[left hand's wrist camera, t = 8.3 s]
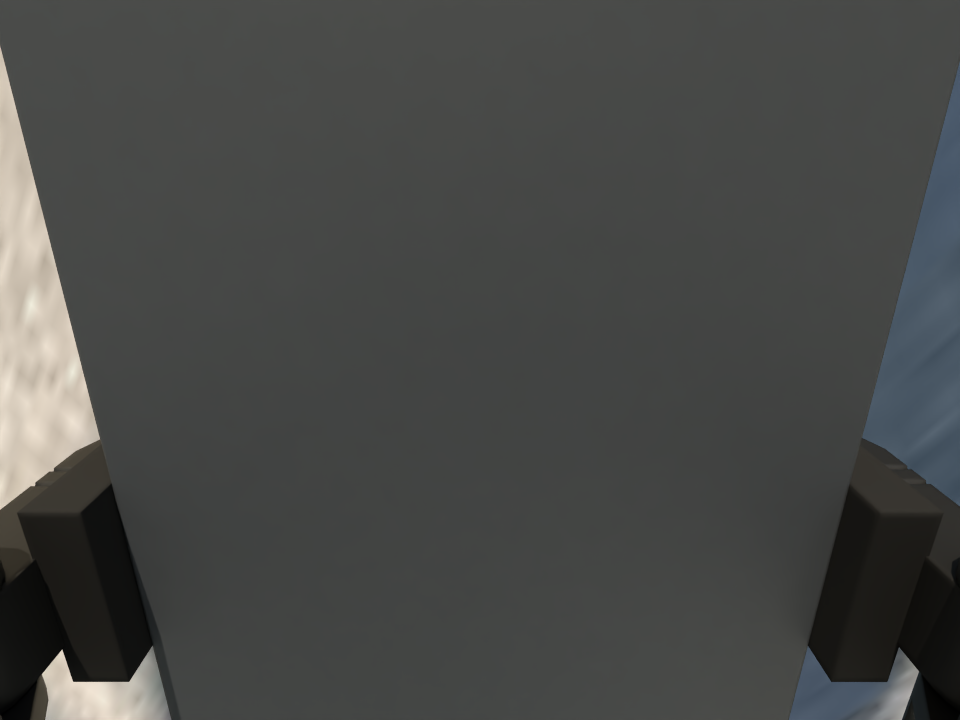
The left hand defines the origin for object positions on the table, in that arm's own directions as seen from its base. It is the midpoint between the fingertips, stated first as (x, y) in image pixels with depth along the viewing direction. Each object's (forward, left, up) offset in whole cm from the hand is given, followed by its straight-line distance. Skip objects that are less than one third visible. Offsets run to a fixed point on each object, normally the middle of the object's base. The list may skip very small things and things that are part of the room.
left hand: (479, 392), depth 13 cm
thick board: (+23, +17, -1) cm, 29 cm away
